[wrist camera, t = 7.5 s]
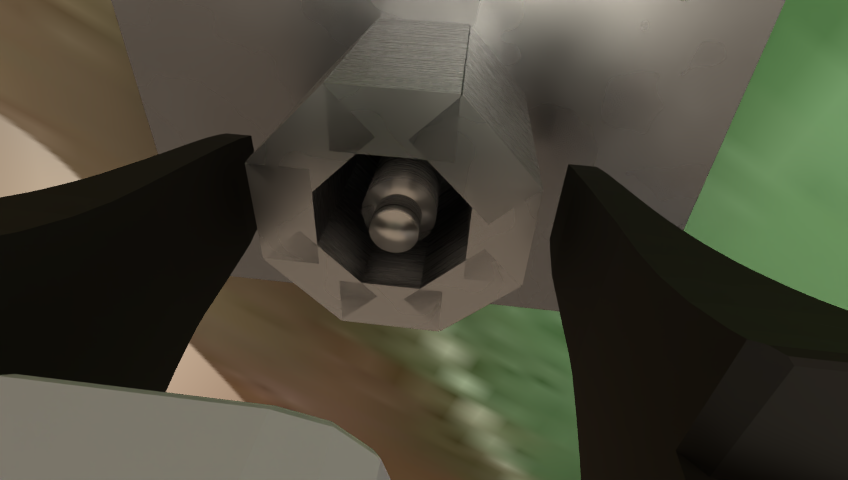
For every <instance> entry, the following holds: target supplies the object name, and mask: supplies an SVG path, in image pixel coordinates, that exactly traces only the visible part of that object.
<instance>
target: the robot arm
mask: <svg viewBox="0 0 848 480" xmlns="http://www.w3.org/2000/svg"><path fill="white" fill-rule="evenodd" d="M253 153H254V148H253V142H252V136H250V135H239V134H228V133H225V134H219V135H215V136H211V137H207V138H204V139H201V140H198V141H195V142H192V143H189V144H186V145H183V146H181V147H178V148H175V149H172V150H169V151H167V152H164V153H161V154H158V155H156V156H153V157H150V158H147V159H144V160H141V161H138V162H135V163H132V164H129V165H126V166H123V167H120V168H117V169H114V170H111V171H108V172H105V173H102V174H99V175H95V176H92V177H88V178H85V179H81V180H78V181H74V182H70V183H67V184H62V185H58V186H54V187H50V188H47V189H42V190H37V191H33V192H28V193H22V194H17V195H12V196H6V197H1V198H0V480H391V479H390V477H389V475H388V473H387V471H386V469H385V467H384V465H383V462H382V460H381V458H380V457H379V456H378V455H377V454H376V453H375V451H374V450H373V449H372V448H370V447H369V446H367V445H366V444H364V443H363V442H361V441H360V440H358V439H357V438H355V437H354V436H352V435H351V434H349V433H348V432H346V431H345V430H343V429H342V428H340V427H339V426H338V425H336V424H335V423H333V422H332V421H328V420H324V419H321V418H317V417H314V416H310V415H306V414H303V413H299V412H296V411H292V410H288V409H285V408H281V407H278V406H273V405H265V404H256V403H248V402H240V401H231V400H223V399H215V398H207V397H199V396H190V395H183V394H174V393H167V392H166V390H167V388H168V385H169V383H170V381H171V379H172V377H173V375H174V372H175V370H176V368H177V366H178V364H179V362H180V360H181V358H182V356H183V354H184V352H185V349H186V348H187V346H188V344H189V342H190V340H191V338H192V336H193V334H194V332H195V330H196V328H197V326H198V325H199V323H200V321H201V319H202V318H203V316H204V314H205V313H206V311H207V310H208V308H209V307H210V305H211V304H212V302H213V301H214V299H215V298H216V296H217V295H218V293H219V292H220V290H221V289H222V287H223V285H224V284H225V282H226V281H227V279H228V278H229V276H230V275H231V273H232V272H233V270H234V269H235V267H236V266H237V264H238V263H239V261H240V259H241V258H242V256H243V255H244V253H245V252H246V250H247V248H248V247H249V245H250V243H251V241H252V239H253V237H254V235H255V233H256V231H257V224H256V219H255V214H254V209H253V203H252V198H251V193H250V188H249V183H248V177H247V172H246V167H245V163H246V160H247V159H248V158H249V157H250V156H251V155H252V154H253ZM550 258H551V271H552V278H553V283H554V288H555V293H556V297H557V302H558V307H559V311H560V316H561V320H562V325H563V329H564V334H565V338H566V343H567V347H568V352H569V357H570V363H571V368H572V375H573V385H574V395H575V405H576V416H577V428H578V440H579V453H580V468H581V480H848V311H847V310H845V309H842V308H839V307H837V306H834V305H831V304H829V303H826V302H824V301H821V300H818V299H816V298H814V297H811V296H809V295H806V294H804V293H802V292H799V291H797V290H794V289H792V288H790V287H787V286H785V285H783V284H781V283H779V282H777V281H775V280H772V279H770V278H768V277H766V276H764V275H762V274H760V273H757V272H755V271H753V270H751V269H749V268H747V267H745V266H743V265H741V264H739V263H737V262H735V261H734V260H732V259H730V258H728V257H726V256H725V255H723V254H721V253H719V252H718V251H716V250H714V249H712V248H710V247H709V246H707V245H705V244H703V243H702V242H700V241H699V240H697V239H695V238H694V237H692V236H691V235H689V234H688V233H686V232H685V231H683V230H682V229H680V228H679V227H677V226H676V225H674V224H673V223H671V222H670V221H668V220H667V219H666V218H664V217H663V216H661V215H660V214H659V213H657V212H656V211H655V210H653V209H652V208H651V207H649V206H648V205H647V204H645V203H644V202H643V201H641V200H640V199H639V198H638V197H636V196H635V195H634V194H633V193H631V192H630V191H629V190H628V189H626V188H625V187H624V186H623V185H621V184H620V183H619V182H617V181H616V180H615V179H614V178H612V177H611V176H610V175H608V174H607V173H606V172H604V171H603V170H601V169H600V168H598V167H596V166H584V165H573V164H568V167H567V171H566V175H565V179H564V183H563V187H562V191H561V195H560V199H559V203H558V207H557V211H556V215H555V219H554V223H553V227H552V231H551V235H550Z"/></svg>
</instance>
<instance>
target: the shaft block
mask: <svg viewBox="0 0 848 480" xmlns="http://www.w3.org/2000/svg"><path fill="white" fill-rule="evenodd" d="M111 1H112V4H113V7H114V11H115V14H116V17H117V20H118V24H119V27H120V30H121V34H122V37H123V40H124V43H125V47H126V50H127V53H128V57H129V60H130V63H131V66H132V70H133V73H134V76H135V80H136V83H137V86H138V89H139V93H140V96H141V99H142V103H143V106H144V109H145V112H146V116H147V119H148V122H149V126H150V129H151V132H152V135H153V139H154V142H155V145H156V148H157V152H158V154H161V153H164V152H167V151H169V150H172V149H175V148H178V147H181V146H183V145H186V144H189V143H192V142H195V141H198V140H201V139H204V138H207V137H211V136H215V135H219V134H225V133H228V134H239V135H250V136H252V142H253V148H254V152H255V150H256V149H257V148H258V147H259V146H260V145H261V144H262V143H263V141H264V140H265V139H266V138H267V137H268V136H269V135H270V134H271V133H272V131H273V130H274V129H275V128H276V127H277V126H278V125H279V124H280V122H281V121H282V120H283V119H284V118H285V117H286V116H287V115H288V114H289V112H290V111H291V110H292V109H293V108H294V107H295V106H296V105H297V103H298V102H299V101H300V100H301V99H302V98H303V97H304V96H305V95H306V93H307V92H308V91H309V90H310V89H311V88H312V87H313V86H314V84H315V83H316V82H317V81H318V80H319V79H320V78H321V77H322V76H323V75H324V74H325V73H326V72H327V70H328V69H329V68H330V67H331V66H332V65H333V64H334V63H335V62H336V61H337V60H338V59H339V58H340V57H341V56H342V55H343V54H344V53H345V52H346V51H347V50H348V49H349V48H350V47H351V46H352V45H353V44H354V43H355V42H356V41H357V40H358V39H359V38H360V37H361V36H362V35H363V33H364V32H365V31H366V30H367V29H368V28H369V27H370V26H371V25H372V24H373V23H374V22H375V21H376V20H377V19H378V18H394V19H408V20H421V21H435V22H449V23H462V24H470V25H472V27H473V28H474V29H475V30H476V32H477V33H478V34H479V36H480V37H481V38H482V39H483V41H484V42H485V43H486V44H487V46H488V47H489V48H490V50H491V51H492V52H493V53H494V55H495V56H496V57H497V59H498V60H499V61H500V62H501V64H502V65H503V66H504V67H505V69H506V70H507V71H508V73H509V74H510V75H511V76H512V78H513V79H514V80H515V82H516V83H517V84H518V85H519V87H520V88H521V89H522V90H523V92H524V93H525V97H526V102H527V107H528V113H529V118H530V123H531V129H532V134H533V139H534V145H535V150H536V155H537V161H538V166H539V171H540V176H541V182H542V187H543V194H542V199H541V203H540V208H539V213H538V217H537V222H536V226H535V231H534V235H533V240H532V244H531V249H530V253H529V258H528V262H527V267H526V271H525V276H524V280H523V285H521V287H519V288H517V289H516V290H514V291H512V292H510V293H508V294H506V295H505V296H503V297H501V298H499V299H497V300H496V301H494V302H492V303H490V304H497V305H506V306H515V307H525V308H534V309H543V310H553V311H559V307H558V302H557V297H556V293H555V288H554V283H553V278H552V271H551V258H550V235H551V231H552V227H553V223H554V219H555V215H556V211H557V207H558V203H559V199H560V195H561V191H562V187H563V183H564V179H565V175H566V171H567V167H568V164H573V165H584V166H596V167H598V168H600V169H601V170H603V171H604V172H606V173H607V174H608V175H610V176H611V177H612V178H614V179H615V180H616V181H617V182H619V183H620V184H621V185H623V186H624V187H625V188H626V189H628V190H629V191H630V192H631V193H633V194H634V195H635V196H636V197H638V198H639V199H640V200H641V201H643V202H644V203H645V204H647V205H648V206H649V207H651V208H652V209H653V210H655V211H656V212H657V213H659V214H660V215H661V216H663V217H664V218H666V219H667V220H668V221H670V222H671V223H673V224H674V225H676V226H677V227H679V228H680V229H682V230H684V228H685V225H686V223H687V221H688V219H689V216H690V214H691V212H692V210H693V207H694V205H695V203H696V201H697V198H698V196H699V194H700V192H701V189H702V187H703V185H704V183H705V180H706V178H707V176H708V174H709V171H710V169H711V167H712V165H713V162H714V160H715V158H716V156H717V153H718V151H719V149H720V147H721V144H722V142H723V140H724V138H725V135H726V133H727V131H728V129H729V126H730V124H731V122H732V120H733V117H734V115H735V113H736V111H737V108H738V106H739V104H740V102H741V99H742V97H743V95H744V93H745V90H746V88H747V86H748V84H749V81H750V79H751V77H752V75H753V72H754V70H755V68H756V66H757V63H758V61H759V59H760V57H761V54H762V52H763V50H764V48H765V45H766V43H767V41H768V39H769V36H770V34H771V32H772V30H773V27H774V25H775V23H776V21H777V18H778V16H779V14H780V12H781V9H782V7H783V5H784V3H785V0H111ZM442 177H443V176H442V175H441V174H440V173H439V172H438V171H437V170H436V169H435V168H434V167H433V166H432V165H431V164H430V163H429V162H428V160H423V159H412V158H401V157H390V156H381V158H380V160H379V163H378V166H377V168H376V171H375V173H374V176H373V178H372V181H371V183H370V186H369V188H368V191H367V193H366V196H365V198H364V201H363V204H362V216H363V219H364V222H365V224H366V225H367V227H368V228H369V233H370V237H371V239H372V241H373V242H374V243H375V244H376V245H377V246H378V247H379V248H381V249H383V250H385V251H388V252H393V253H400V252H405V251H407V250H409V249H411V248H412V247H413V246H414V245H415V244H416V242H418V241H420V240H422V239H424V238H425V237H426V236H427V235H428V234H429V233H430V232H431V231H432V229H433V227H434V225H435V222H436V215H437V209H438V202H439V196H440V190H441V183H442ZM230 276H235V277H245V278H254V279H263V280H273V281H282V282H291V283H293V282H292V281H291V280H289V279H288V278H287V277H286V276H284V275H283V274H282V273H281V272H279V271H278V270H277V269H275V268H274V267H273V266H272V265H270V264H269V263H268V262H267V261H265V260H264V258H263V256H262V250H261V245H260V240H259V235H258V230H257V231H256V233H255V235H254V237H253V239H252V241H251V243H250V245H249V247H248V248H247V250H246V252H245V253H244V255H243V256H242V258H241V259H240V261H239V263H238V264H237V266H236V267H235V269H234V270H233V272H232V273H231V275H230Z"/></svg>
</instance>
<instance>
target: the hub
mask: <svg viewBox="0 0 848 480" xmlns="http://www.w3.org/2000/svg"><path fill="white" fill-rule="evenodd" d="M381 156H390V157H401V158H412V159H423V160H428V162H429V163H430V164H431V165H432V166H433V167H434V168H435V169H436V170H437V171H438V172H439V173H440V174H441V175H442V176H443V177H442V183H441V190H440V196H439V202H438V209H437V215H436V222H435V225H434V227H433V229H432V231H431V232H430V233H429V234H428V235H427V236H426V237H425V238H424V239H422V240H420V241H418V242H416V244H415V245H414V246H413V247H412V248H411V249H409V250H407V251H405V252H400V253H393V252H388V251H385V250H383V249H381V248H379V247H378V246H377V245H376V244H375V243H374V242H373V241H372V239H371V237H370V233H369V228H368V227H367V225H366V224H365V222H364V219H363V216H362V204H363V201H364V198H365V196H366V193H367V191H368V188H369V186H370V183H371V181H372V178H373V176H374V173H375V171H376V168H377V166H378V163H379V160H380V158H381ZM245 167H246V172H247V177H248V183H249V188H250V193H251V198H252V203H253V209H254V214H255V219H256V224H257V230H258V235H259V240H260V245H261V250H262V256H263V258H264V260H265V261H267V262H268V263H269V264H270V265H272V266H273V267H274V268H275V269H277V270H278V271H279V272H281V273H282V274H283V275H284V276H286V277H287V278H288V279H289V280H291V281H292V282H293V283H294V284H296V285H297V286H298V287H300V288H301V289H302V290H303V291H305V292H306V293H307V294H308V295H310V296H311V297H312V298H314V299H315V300H316V301H317V302H319V303H320V304H321V305H322V306H324V307H325V308H326V309H328V310H329V311H330V312H331V313H333V314H334V315H335V316H336V317H338V318H339V319H340V320H342V321H350V322H360V323H369V324H378V325H387V326H396V327H405V328H414V329H423V330H432V331H439V330H440V331H441V330H443V329H445V328H447V327H448V326H450V325H452V324H454V323H456V322H458V321H459V320H461V319H463V318H465V317H467V316H468V315H470V314H472V313H474V312H476V311H477V310H479V309H481V308H483V307H485V306H487V305H488V304H490V303H492V302H494V301H496V300H497V299H499V298H501V297H503V296H505V295H506V294H508V293H510V292H512V291H514V290H516V289H517V288H519V287H521V285H523V280H524V276H525V271H526V267H527V262H528V258H529V253H530V249H531V244H532V240H533V235H534V231H535V226H536V222H537V217H538V213H539V208H540V203H541V199H542V194H543V187H542V182H541V176H540V171H539V166H538V161H537V155H536V150H535V145H534V139H533V134H532V129H531V123H530V118H529V113H528V107H527V102H526V97H525V93H524V92H523V90H522V89H521V88H520V87H519V85H518V84H517V83H516V82H515V80H514V79H513V78H512V76H511V75H510V74H509V73H508V71H507V70H506V69H505V67H504V66H503V65H502V64H501V62H500V61H499V60H498V59H497V57H496V56H495V55H494V53H493V52H492V51H491V50H490V48H489V47H488V46H487V44H486V43H485V42H484V41H483V39H482V38H481V37H480V36H479V34H478V33H477V32H476V30H475V29H474V28H473V27H472V25H470V24H462V23H449V22H435V21H421V20H408V19H394V18H378V19H377V20H376V21H375V22H374V23H373V24H372V25H371V26H370V27H369V28H368V29H367V30H366V31H365V32H364V33H363V35H362V36H361V37H360V38H359V39H358V40H357V41H356V42H355V43H354V44H353V45H352V46H351V47H350V48H349V49H348V50H347V51H346V52H345V53H344V54H343V55H342V56H341V57H340V58H339V59H338V60H337V61H336V62H335V63H334V64H333V65H332V66H331V67H330V68H329V69H328V70H327V72H326V73H325V74H324V75H323V76H322V77H321V78H320V79H319V80H318V81H317V82H316V83H315V84H314V86H313V87H312V88H311V89H310V90H309V91H308V92H307V93H306V95H305V96H304V97H303V98H302V99H301V100H300V101H299V102H298V103H297V105H296V106H295V107H294V108H293V109H292V110H291V111H290V112H289V114H288V115H287V116H286V117H285V118H284V119H283V120H282V121H281V122H280V124H279V125H278V126H277V127H276V128H275V129H274V130H273V131H272V133H271V134H270V135H269V136H268V137H267V138H266V139H265V140H264V141H263V143H262V144H261V145H260V146H259V147H258V148H257V149H256V150H255V152H254V153H253V154H252V155H251V156H250V157H249V158H248V159H247V160H246V163H245Z"/></svg>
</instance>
